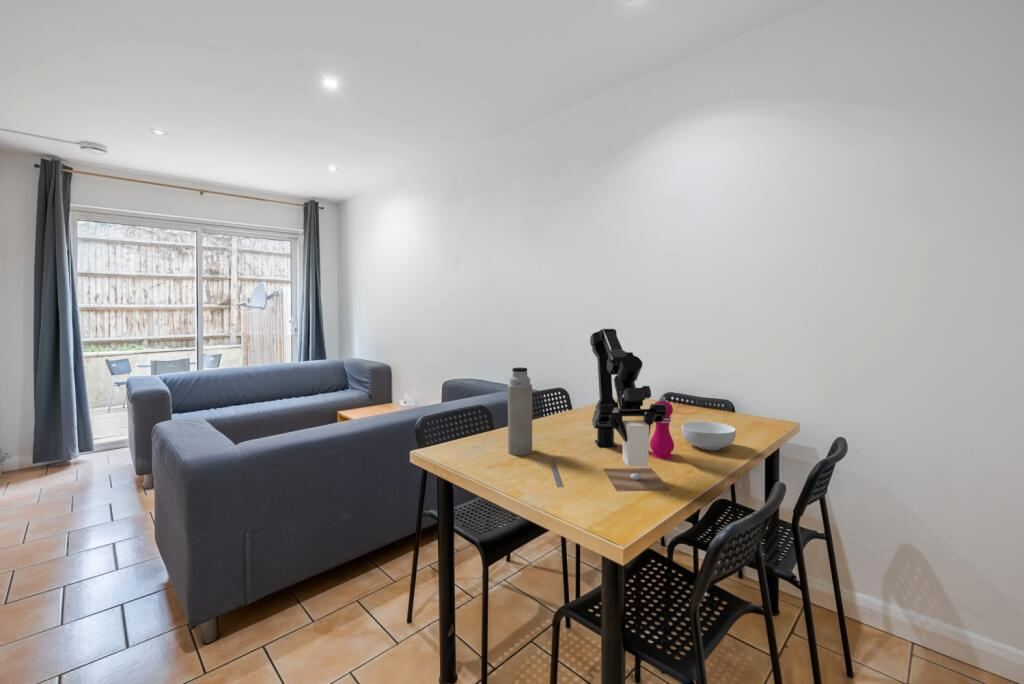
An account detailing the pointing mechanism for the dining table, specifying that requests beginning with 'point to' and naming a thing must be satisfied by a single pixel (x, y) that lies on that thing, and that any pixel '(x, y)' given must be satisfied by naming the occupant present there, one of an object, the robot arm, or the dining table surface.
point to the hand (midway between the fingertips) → (637, 440)
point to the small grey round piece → (635, 476)
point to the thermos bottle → (520, 413)
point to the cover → (636, 444)
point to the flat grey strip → (557, 476)
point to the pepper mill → (663, 435)
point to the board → (625, 483)
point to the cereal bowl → (708, 434)
